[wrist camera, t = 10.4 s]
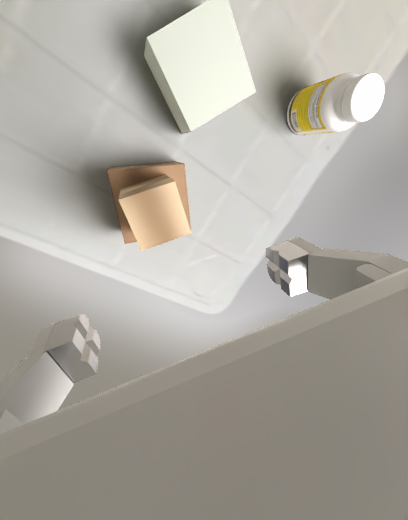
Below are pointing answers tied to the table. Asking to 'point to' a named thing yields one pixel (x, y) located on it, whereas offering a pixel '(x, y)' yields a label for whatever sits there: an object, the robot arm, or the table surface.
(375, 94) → the supplement bottle
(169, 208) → the oak block
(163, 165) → the walnut block
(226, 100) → the white block
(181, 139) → the table surface
